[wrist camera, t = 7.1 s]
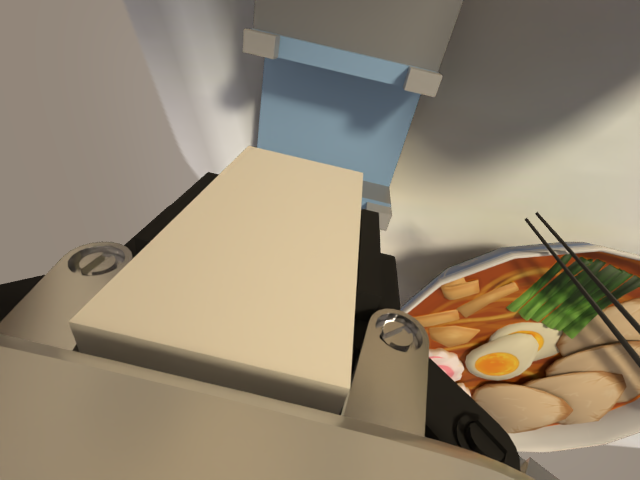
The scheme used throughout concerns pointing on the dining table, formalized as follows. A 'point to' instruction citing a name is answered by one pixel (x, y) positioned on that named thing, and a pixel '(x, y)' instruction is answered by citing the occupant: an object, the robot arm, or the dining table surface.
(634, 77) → the dining table surface
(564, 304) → the ramen bowl
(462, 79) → the dining table surface
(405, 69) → the grey tiered shelf stand
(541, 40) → the dining table surface
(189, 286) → the plug
